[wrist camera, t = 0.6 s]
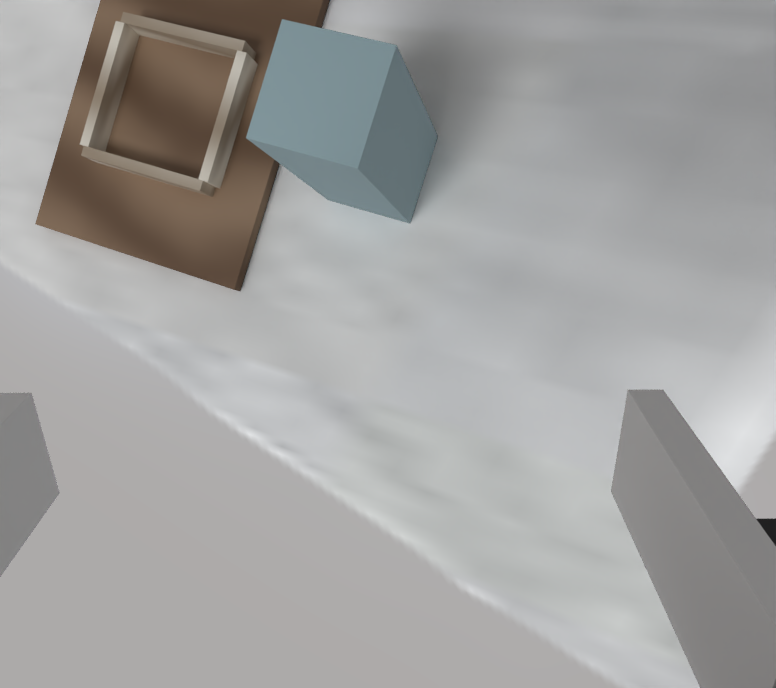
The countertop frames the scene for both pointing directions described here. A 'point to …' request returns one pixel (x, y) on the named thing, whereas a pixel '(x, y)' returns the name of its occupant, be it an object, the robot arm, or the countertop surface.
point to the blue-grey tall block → (345, 119)
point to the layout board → (171, 133)
